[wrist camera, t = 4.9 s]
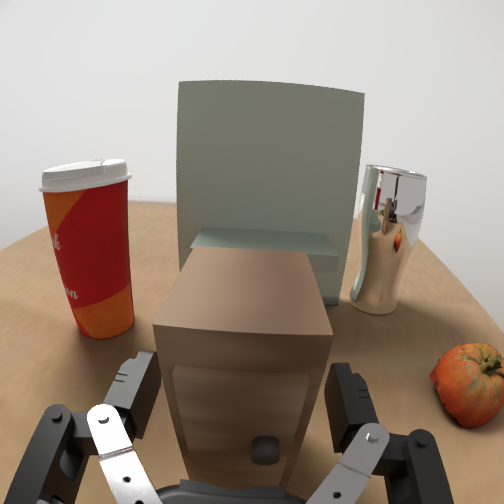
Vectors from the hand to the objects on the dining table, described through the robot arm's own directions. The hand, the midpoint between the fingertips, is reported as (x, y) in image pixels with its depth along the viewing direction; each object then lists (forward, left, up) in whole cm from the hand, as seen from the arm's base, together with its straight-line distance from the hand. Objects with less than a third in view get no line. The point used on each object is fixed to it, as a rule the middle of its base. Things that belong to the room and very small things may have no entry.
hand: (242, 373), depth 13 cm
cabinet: (0, 0, -7) cm, 7 cm away
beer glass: (+14, +19, -7) cm, 24 cm away
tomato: (+18, +3, -7) cm, 20 cm away
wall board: (+1, +17, -7) cm, 19 cm away
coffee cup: (-14, +12, -7) cm, 20 cm away
